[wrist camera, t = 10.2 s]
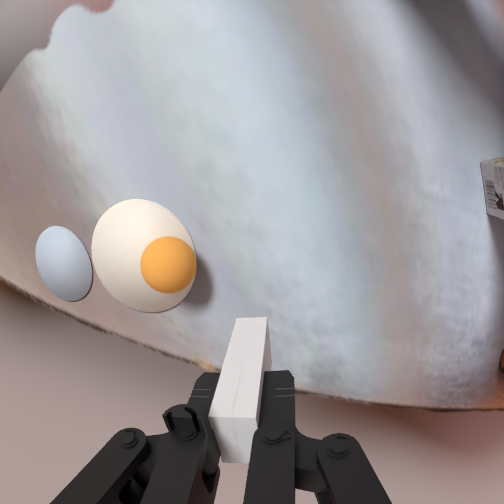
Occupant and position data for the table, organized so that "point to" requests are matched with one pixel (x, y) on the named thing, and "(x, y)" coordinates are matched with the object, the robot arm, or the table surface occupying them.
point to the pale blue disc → (64, 263)
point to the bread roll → (502, 362)
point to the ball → (168, 264)
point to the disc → (135, 252)
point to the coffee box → (494, 186)
